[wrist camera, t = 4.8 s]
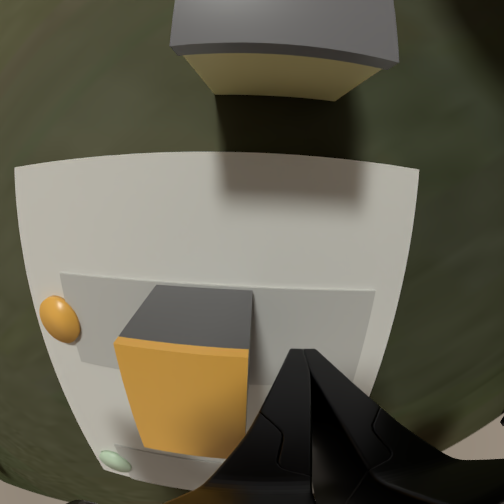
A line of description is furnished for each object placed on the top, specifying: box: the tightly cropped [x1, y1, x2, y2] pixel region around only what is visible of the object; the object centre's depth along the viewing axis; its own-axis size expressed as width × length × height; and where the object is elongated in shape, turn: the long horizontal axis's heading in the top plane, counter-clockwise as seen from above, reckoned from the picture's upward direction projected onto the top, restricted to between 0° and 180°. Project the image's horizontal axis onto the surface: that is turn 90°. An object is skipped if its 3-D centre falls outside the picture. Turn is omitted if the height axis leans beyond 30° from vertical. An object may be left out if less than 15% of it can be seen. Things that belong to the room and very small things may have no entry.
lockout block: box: [170, 0, 399, 101], centre depth 6 cm, size 4×4×5 cm
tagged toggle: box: [113, 285, 253, 459], centre depth 8 cm, size 3×4×3 cm
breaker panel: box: [15, 152, 419, 493], centre depth 12 cm, size 14×18×2 cm
